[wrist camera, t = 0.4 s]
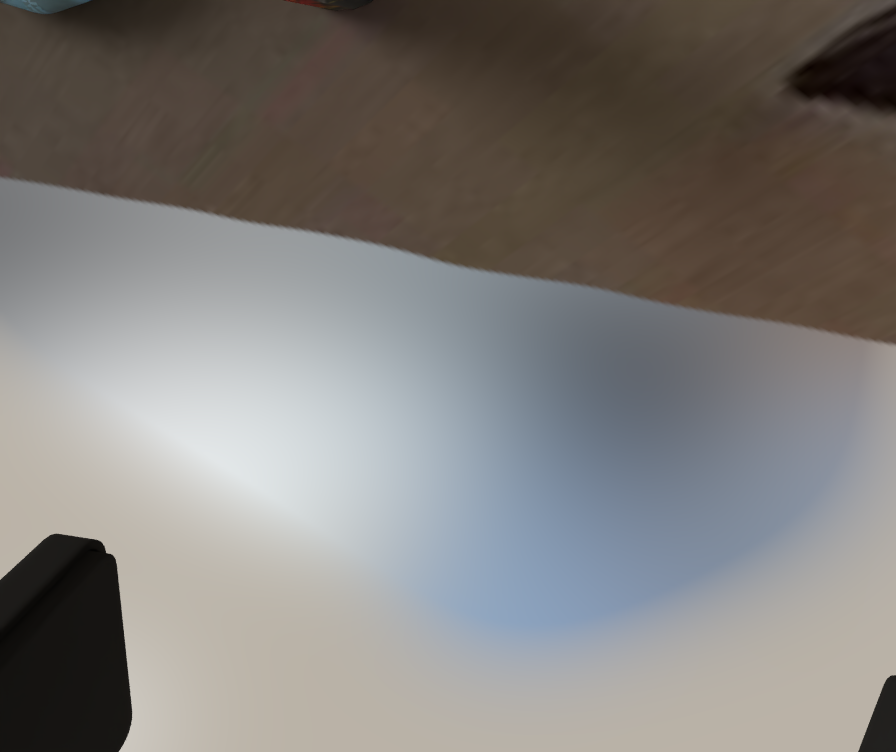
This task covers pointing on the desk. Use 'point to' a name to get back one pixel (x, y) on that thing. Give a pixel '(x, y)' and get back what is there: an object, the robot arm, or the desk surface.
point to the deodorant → (334, 3)
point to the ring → (44, 5)
